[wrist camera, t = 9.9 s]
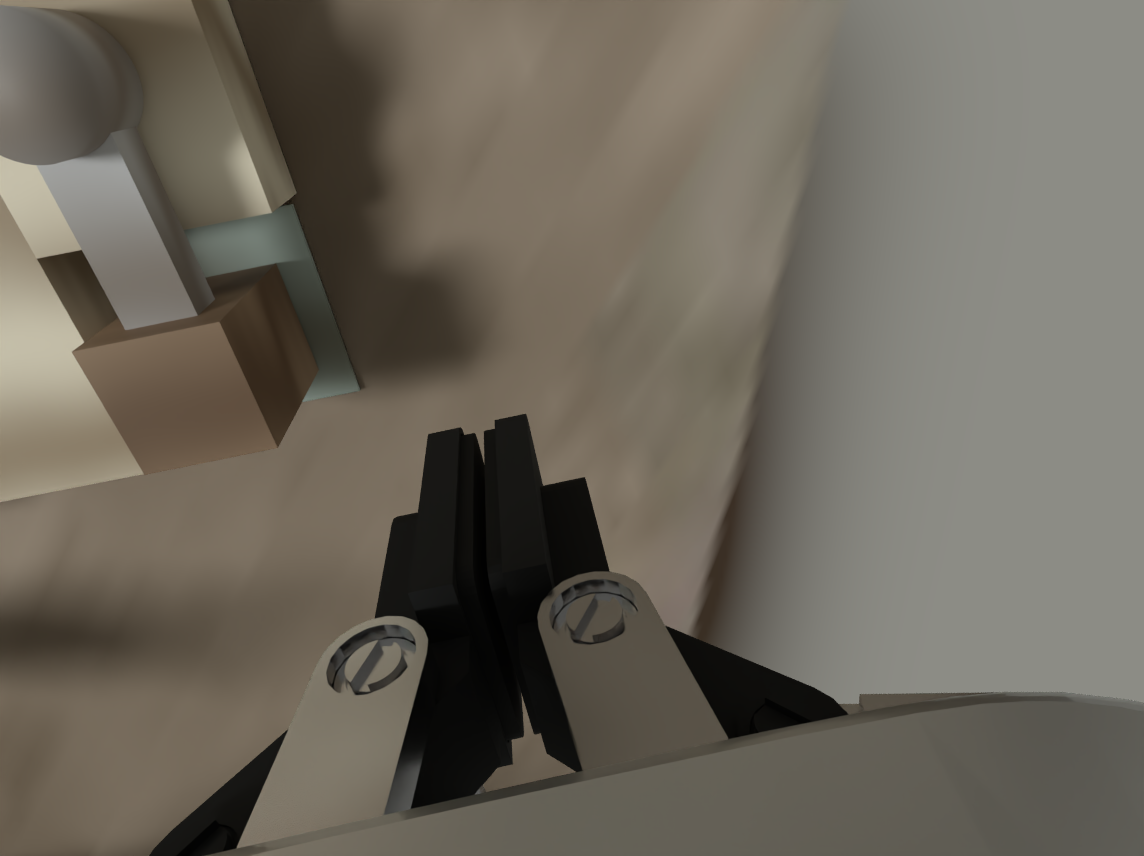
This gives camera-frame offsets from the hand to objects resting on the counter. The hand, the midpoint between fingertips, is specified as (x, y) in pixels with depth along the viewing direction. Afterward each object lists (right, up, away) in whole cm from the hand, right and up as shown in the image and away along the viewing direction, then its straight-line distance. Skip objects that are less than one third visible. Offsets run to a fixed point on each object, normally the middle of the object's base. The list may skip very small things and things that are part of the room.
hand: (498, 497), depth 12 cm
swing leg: (-9, +7, +8) cm, 14 cm away
